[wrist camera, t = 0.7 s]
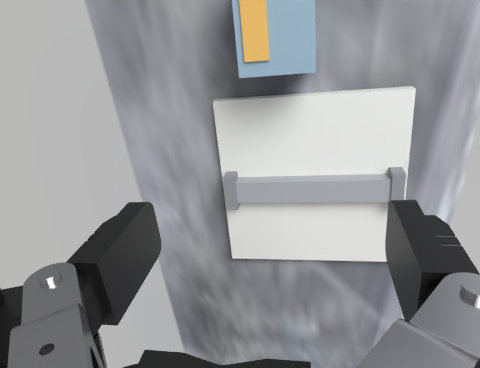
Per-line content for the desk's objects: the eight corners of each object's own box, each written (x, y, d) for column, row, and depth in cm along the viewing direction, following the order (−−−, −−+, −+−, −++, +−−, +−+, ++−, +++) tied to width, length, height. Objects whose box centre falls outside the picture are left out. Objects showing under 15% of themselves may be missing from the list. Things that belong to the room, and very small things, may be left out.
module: (245, -32, 27) (226, -45, 21) (313, -41, 26) (314, -58, 20) (252, 65, 30) (238, 78, 24) (314, 60, 29) (316, 72, 23)
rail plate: (215, 99, 32) (208, 105, 30) (412, 86, 29) (421, 92, 27) (234, 252, 38) (229, 267, 36) (396, 255, 35) (402, 271, 33)
